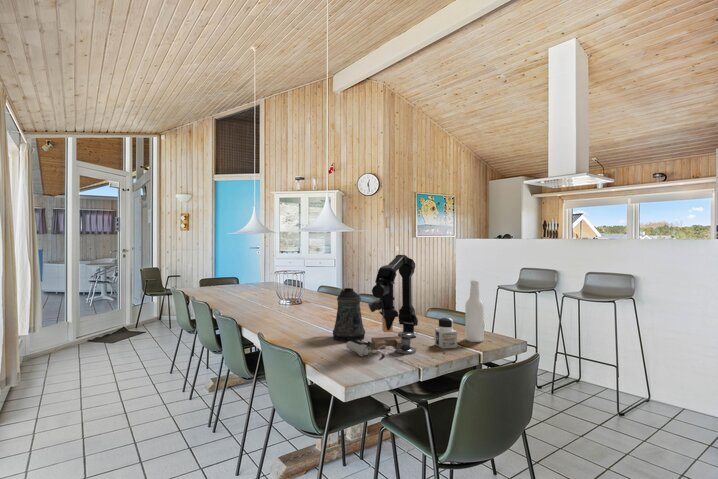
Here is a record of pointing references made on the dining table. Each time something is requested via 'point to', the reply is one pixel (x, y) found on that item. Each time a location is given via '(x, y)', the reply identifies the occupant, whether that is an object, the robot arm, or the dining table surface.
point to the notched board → (385, 341)
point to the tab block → (385, 326)
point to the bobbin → (405, 343)
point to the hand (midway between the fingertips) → (387, 328)
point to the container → (445, 334)
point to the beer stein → (348, 317)
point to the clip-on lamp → (361, 347)
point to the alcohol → (474, 315)
